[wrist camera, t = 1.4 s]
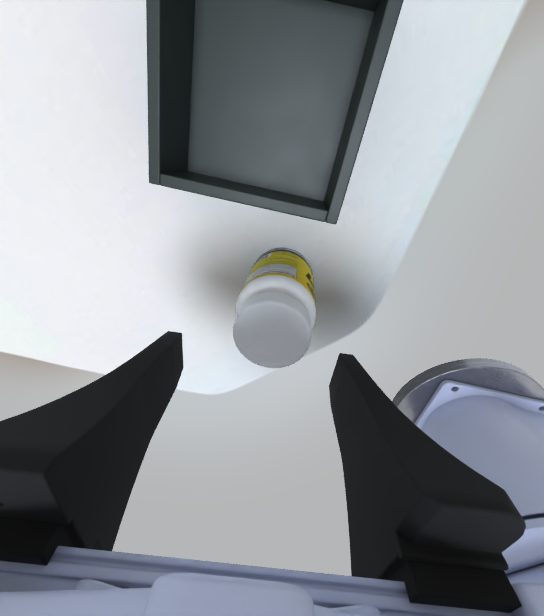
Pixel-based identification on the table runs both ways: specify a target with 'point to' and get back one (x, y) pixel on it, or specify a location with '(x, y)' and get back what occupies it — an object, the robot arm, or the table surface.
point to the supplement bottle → (276, 310)
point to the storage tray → (263, 97)
